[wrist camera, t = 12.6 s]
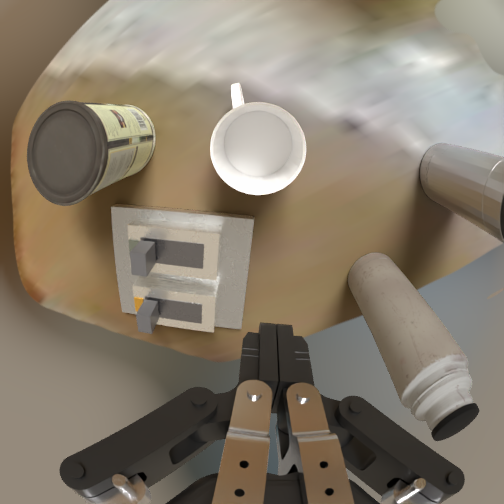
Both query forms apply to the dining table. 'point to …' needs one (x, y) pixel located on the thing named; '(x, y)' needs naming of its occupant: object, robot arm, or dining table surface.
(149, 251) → the on breaker handle
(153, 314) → the breaker handle
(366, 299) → the thermos bottle
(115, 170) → the coffee can
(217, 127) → the mug
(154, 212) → the breaker panel
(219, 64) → the dining table surface
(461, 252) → the dining table surface
